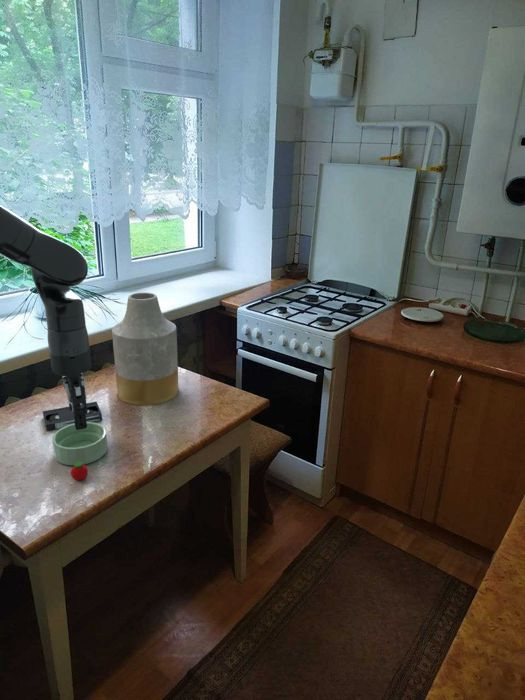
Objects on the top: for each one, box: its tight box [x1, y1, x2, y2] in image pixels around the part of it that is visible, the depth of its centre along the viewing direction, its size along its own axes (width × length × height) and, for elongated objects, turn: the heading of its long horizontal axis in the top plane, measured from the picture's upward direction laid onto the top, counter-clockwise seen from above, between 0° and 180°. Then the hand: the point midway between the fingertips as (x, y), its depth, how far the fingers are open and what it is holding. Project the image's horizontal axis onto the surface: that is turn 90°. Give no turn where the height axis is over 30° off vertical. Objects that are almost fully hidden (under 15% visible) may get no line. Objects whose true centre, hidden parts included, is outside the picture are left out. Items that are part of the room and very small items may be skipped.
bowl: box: [51, 422, 109, 466], centre depth 120 cm, size 12×12×5 cm
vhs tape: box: [42, 401, 103, 432], centre depth 135 cm, size 14×8×2 cm, turn 117°
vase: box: [111, 292, 180, 407], centre depth 147 cm, size 18×18×30 cm
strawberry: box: [70, 462, 89, 481], centre depth 111 cm, size 4×4×4 cm
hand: (78, 418), depth 104 cm, fingers open, 8 cm apart
